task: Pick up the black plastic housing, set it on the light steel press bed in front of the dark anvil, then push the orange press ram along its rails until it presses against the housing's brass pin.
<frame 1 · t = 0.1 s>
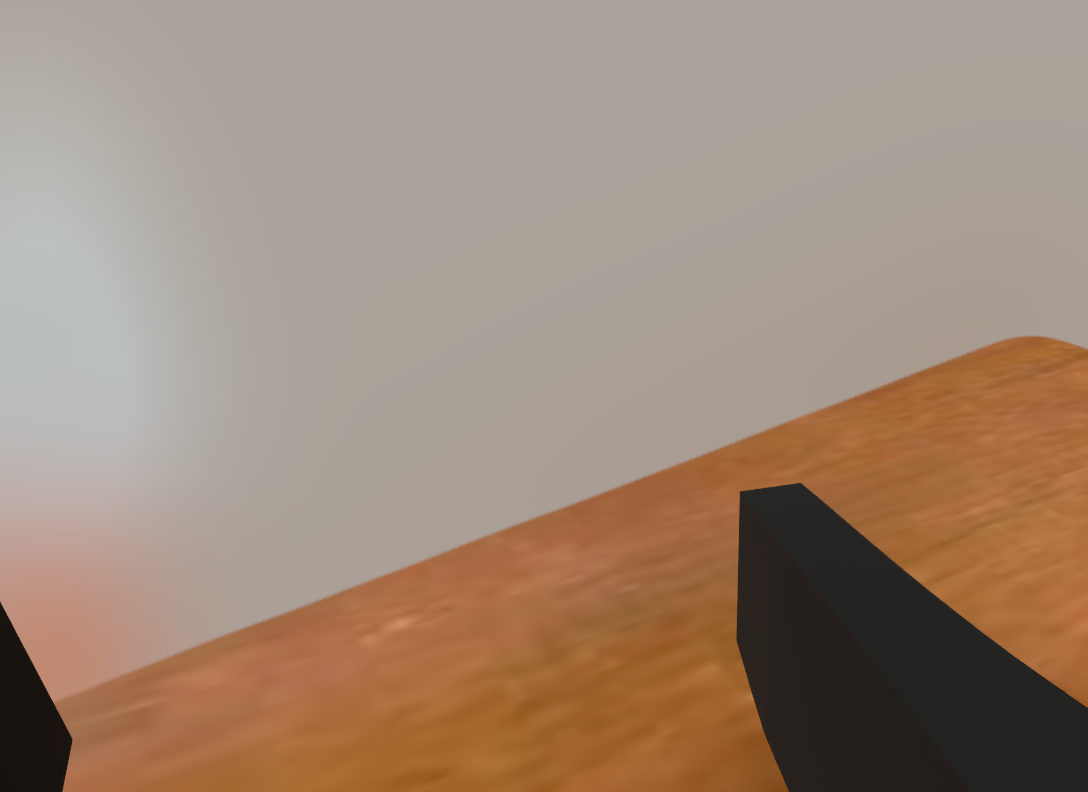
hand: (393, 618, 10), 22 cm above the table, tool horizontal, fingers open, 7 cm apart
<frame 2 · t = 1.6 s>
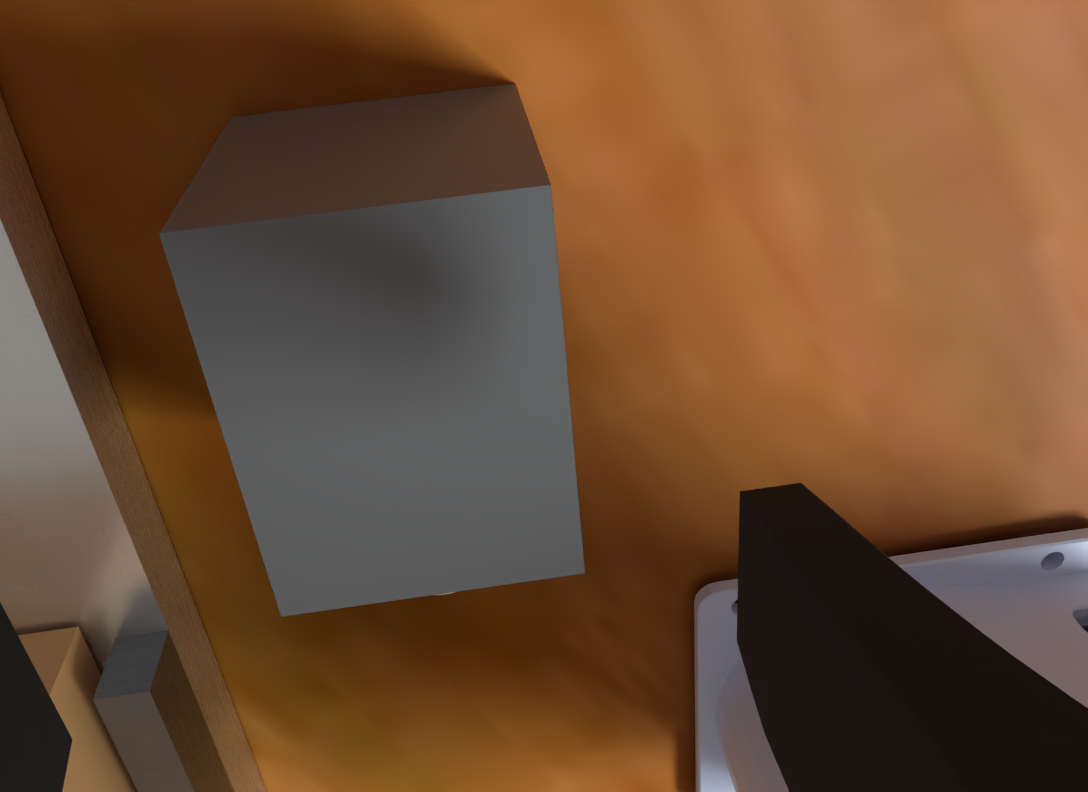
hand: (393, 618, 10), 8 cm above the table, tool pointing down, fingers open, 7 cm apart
housing: (405, 271, 17), on the table
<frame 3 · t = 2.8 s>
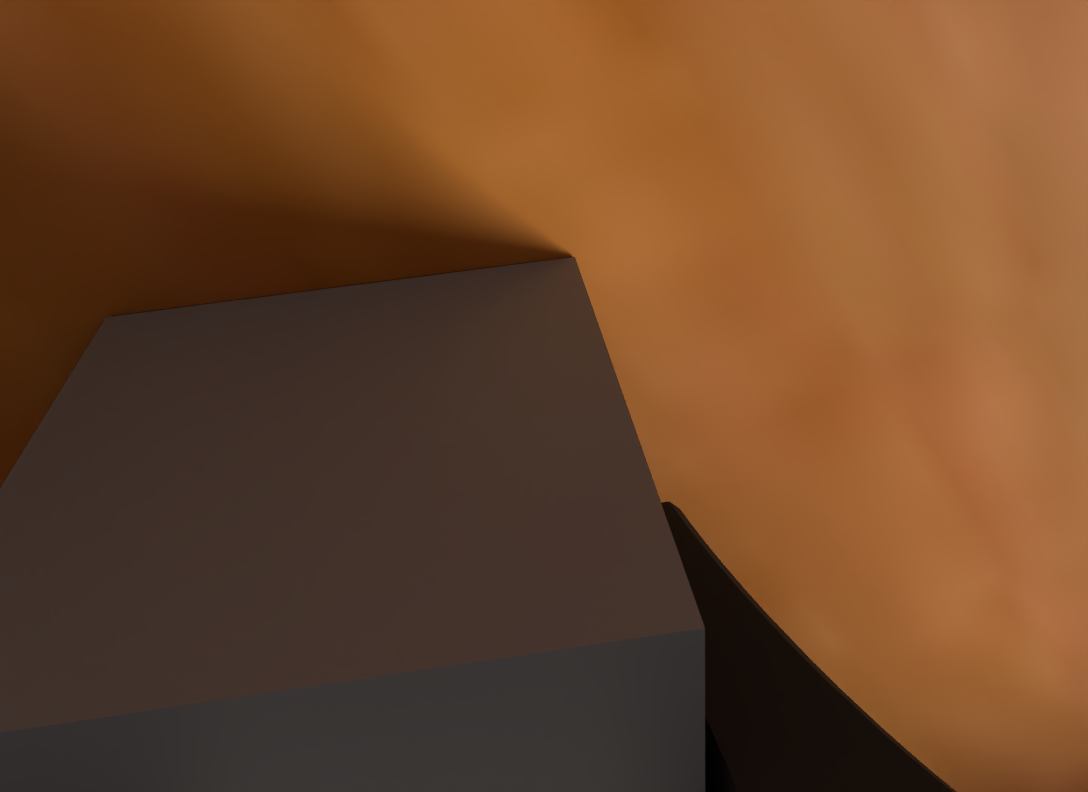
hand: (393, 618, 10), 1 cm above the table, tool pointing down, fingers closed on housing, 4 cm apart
housing: (396, 528, 11), on the table, touching gripper
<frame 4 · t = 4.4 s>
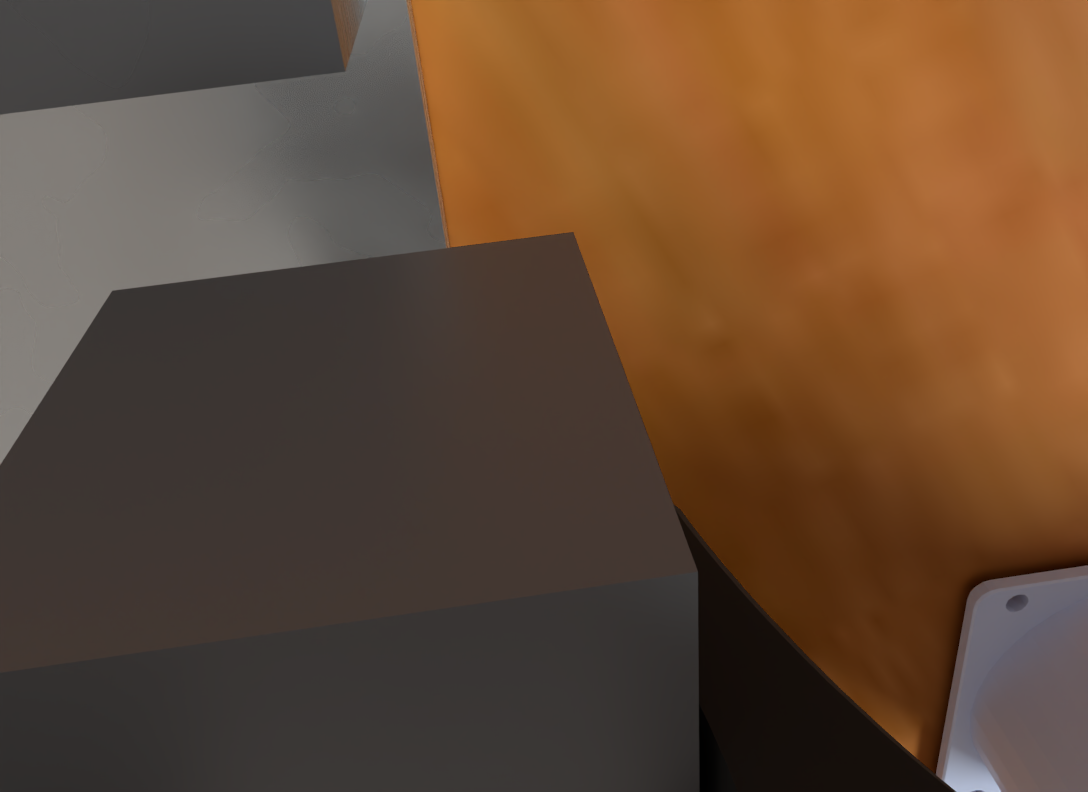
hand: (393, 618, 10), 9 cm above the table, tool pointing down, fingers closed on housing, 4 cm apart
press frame: (160, 371, 17), on the table
housing: (397, 503, 11), point 7 cm above the table, touching gripper
when the fingers open (4 cm above the table, at t = 6.2 s): housing stays where it is, resting on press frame.
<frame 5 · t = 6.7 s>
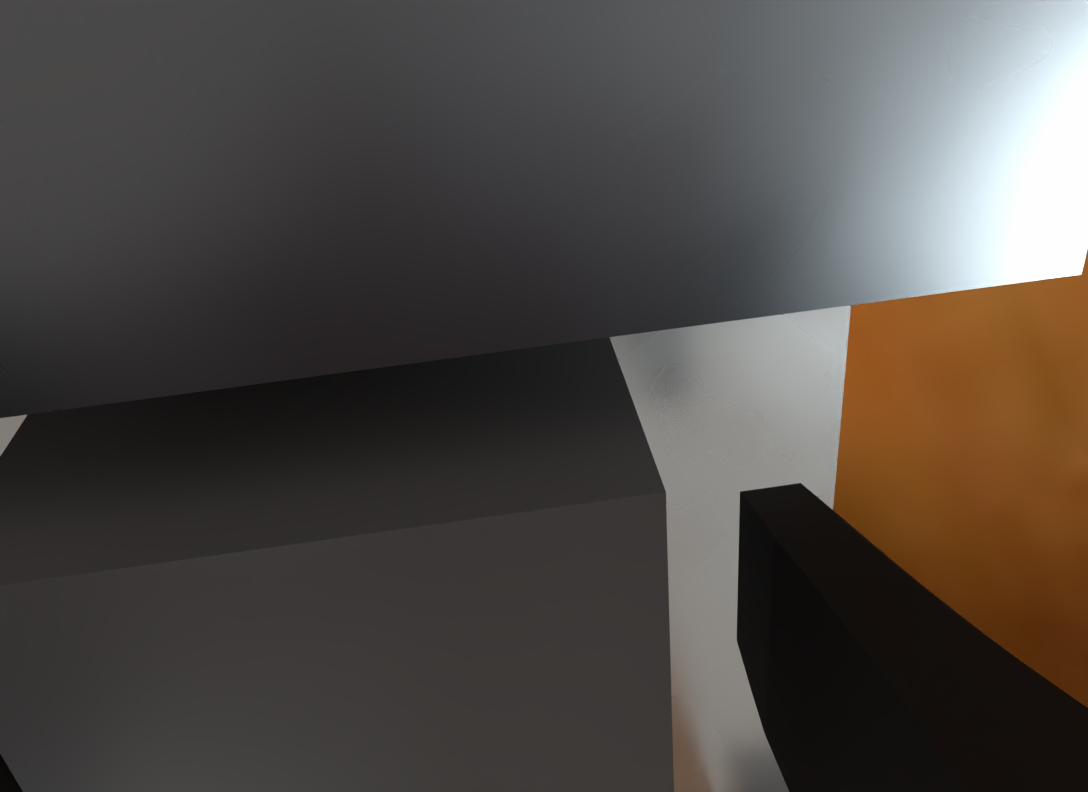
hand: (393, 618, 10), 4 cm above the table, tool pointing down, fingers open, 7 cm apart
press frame: (423, 526, 14), on the table
housing: (395, 466, 12), point 1 cm above the table, touching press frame
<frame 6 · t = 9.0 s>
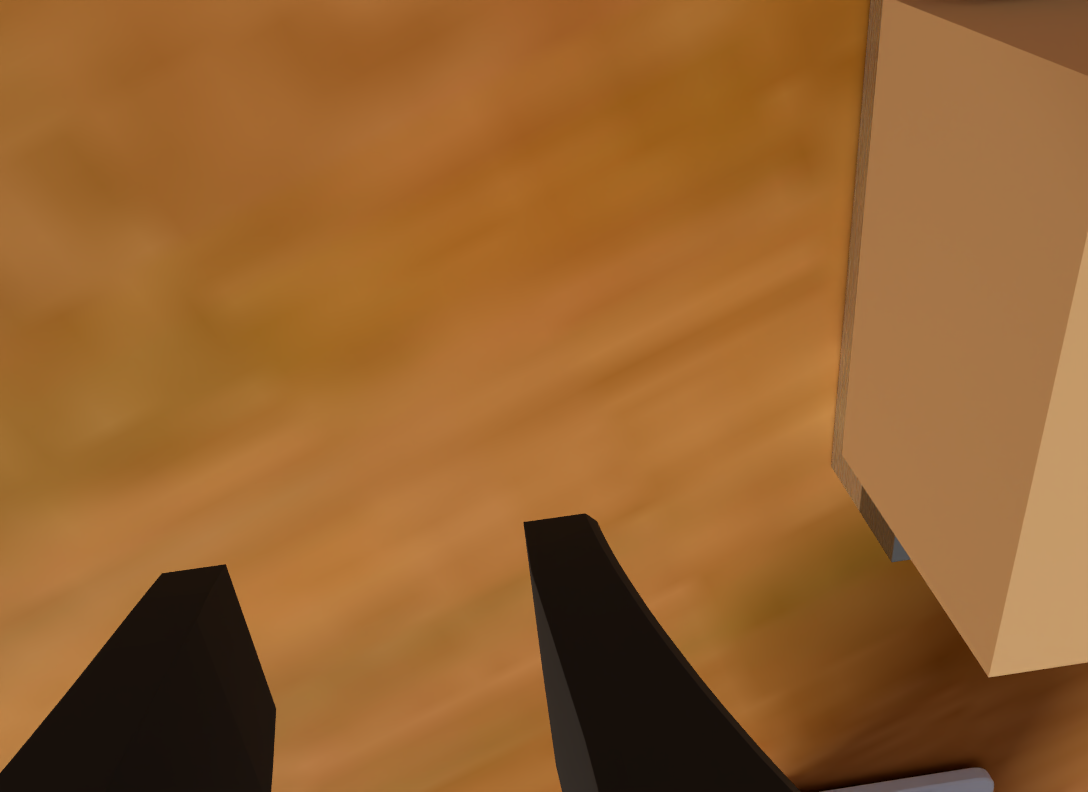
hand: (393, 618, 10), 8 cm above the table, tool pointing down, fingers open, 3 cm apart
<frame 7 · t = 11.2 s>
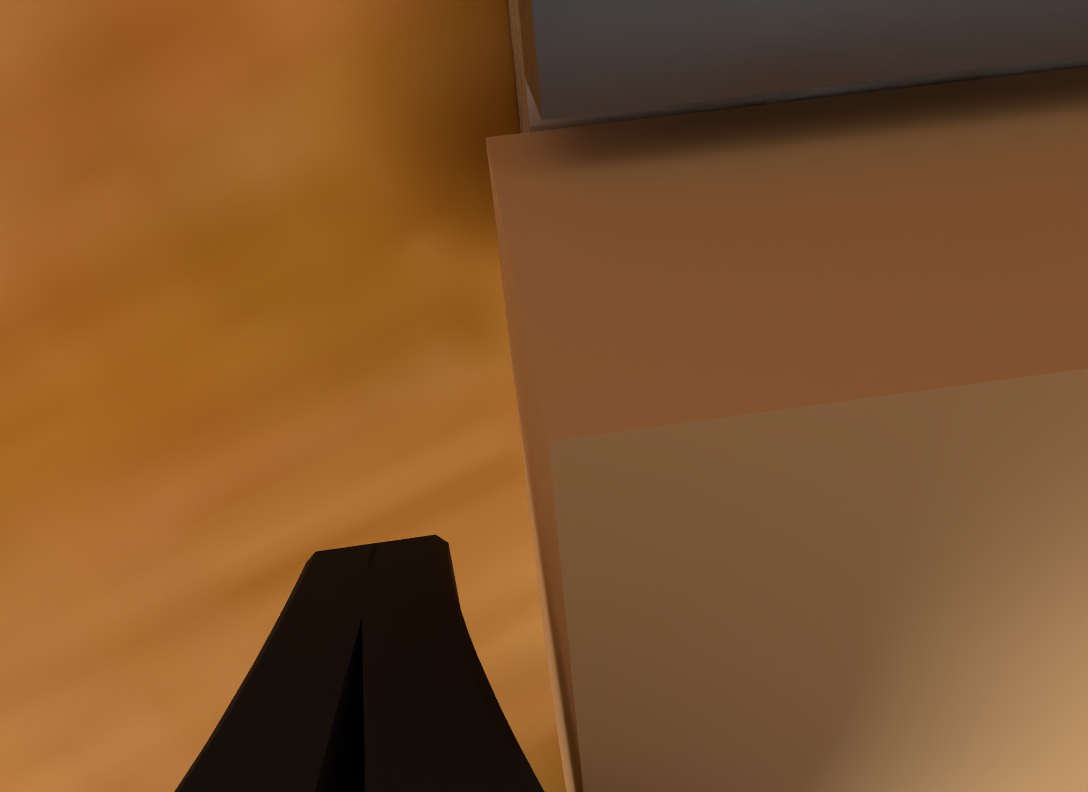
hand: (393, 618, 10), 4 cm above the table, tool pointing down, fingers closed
ram: (950, 567, 10), point 4 cm above the table, slide at 0.1 cm, touching gripper
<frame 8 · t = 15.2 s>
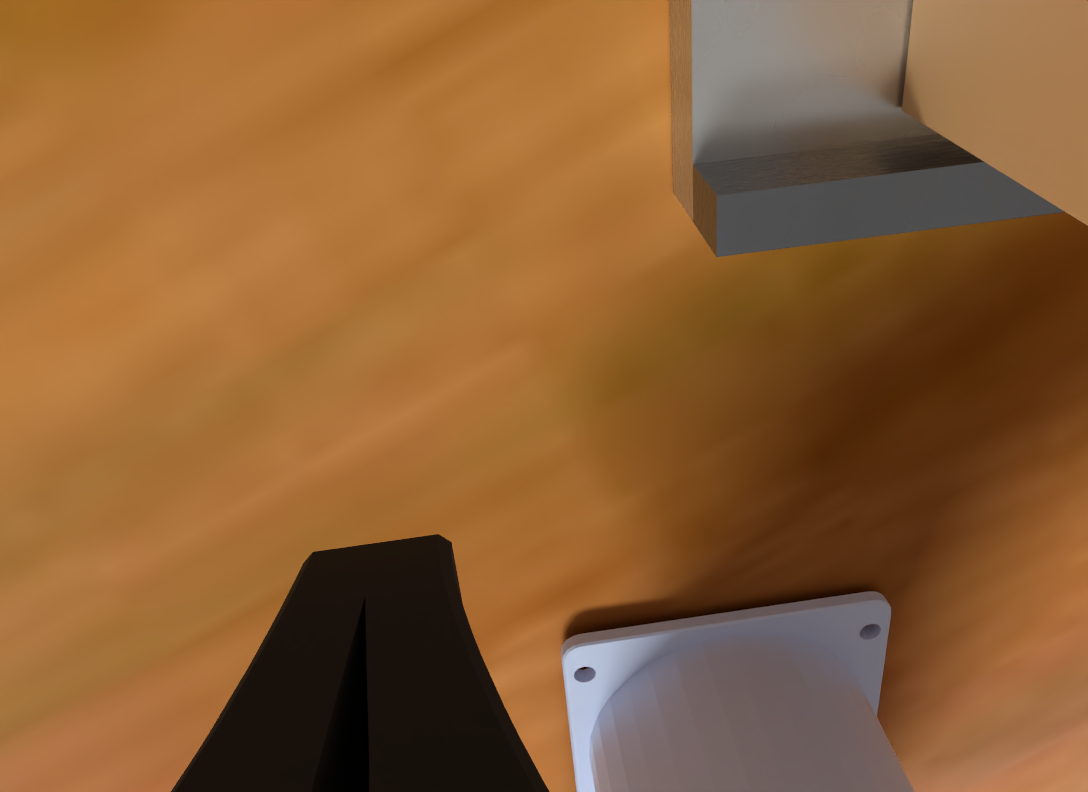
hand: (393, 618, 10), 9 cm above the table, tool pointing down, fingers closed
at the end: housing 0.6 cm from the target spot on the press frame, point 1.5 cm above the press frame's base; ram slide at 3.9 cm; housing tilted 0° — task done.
